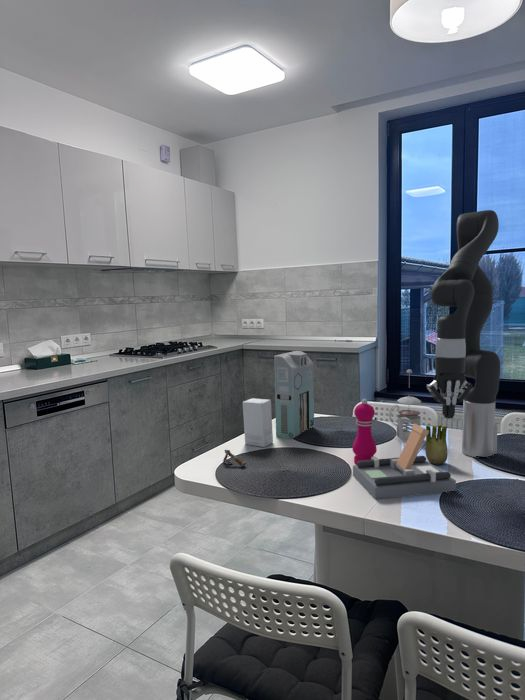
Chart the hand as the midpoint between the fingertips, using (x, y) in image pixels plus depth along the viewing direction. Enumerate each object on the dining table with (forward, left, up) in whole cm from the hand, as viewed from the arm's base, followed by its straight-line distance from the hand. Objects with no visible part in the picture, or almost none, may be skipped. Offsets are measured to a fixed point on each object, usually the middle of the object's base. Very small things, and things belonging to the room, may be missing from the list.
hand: (448, 417), depth 127 cm
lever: (+13, 0, -13) cm, 19 cm away
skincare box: (+46, -43, -18) cm, 66 cm away
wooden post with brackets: (+57, -24, -18) cm, 64 cm away
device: (+30, -54, -18) cm, 64 cm away
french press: (-6, -36, -18) cm, 40 cm away
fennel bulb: (-4, -12, -18) cm, 22 cm away
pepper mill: (+17, -17, -18) cm, 30 cm away
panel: (+13, 0, -17) cm, 22 cm away
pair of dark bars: (+13, 0, -14) cm, 20 cm away
